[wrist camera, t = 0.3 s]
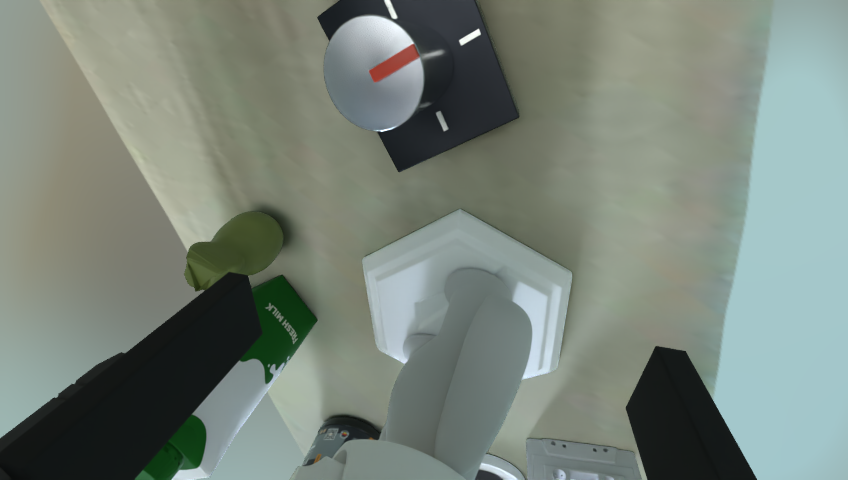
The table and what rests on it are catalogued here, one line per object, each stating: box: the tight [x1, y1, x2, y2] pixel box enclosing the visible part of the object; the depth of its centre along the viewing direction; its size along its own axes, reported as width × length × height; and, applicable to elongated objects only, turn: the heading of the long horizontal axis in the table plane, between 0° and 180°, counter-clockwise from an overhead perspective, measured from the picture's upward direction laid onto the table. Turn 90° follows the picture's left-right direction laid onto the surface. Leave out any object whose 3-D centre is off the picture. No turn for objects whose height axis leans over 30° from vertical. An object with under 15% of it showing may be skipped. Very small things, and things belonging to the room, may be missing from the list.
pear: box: [184, 211, 283, 291], centre depth 33 cm, size 6×5×10 cm
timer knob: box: [324, 14, 454, 131], centre depth 20 cm, size 5×5×9 cm
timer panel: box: [317, 0, 519, 172], centre depth 25 cm, size 12×10×3 cm
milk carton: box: [134, 275, 317, 480], centre depth 34 cm, size 9×9×20 cm
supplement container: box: [302, 417, 380, 466], centre depth 47 cm, size 10×10×12 cm
